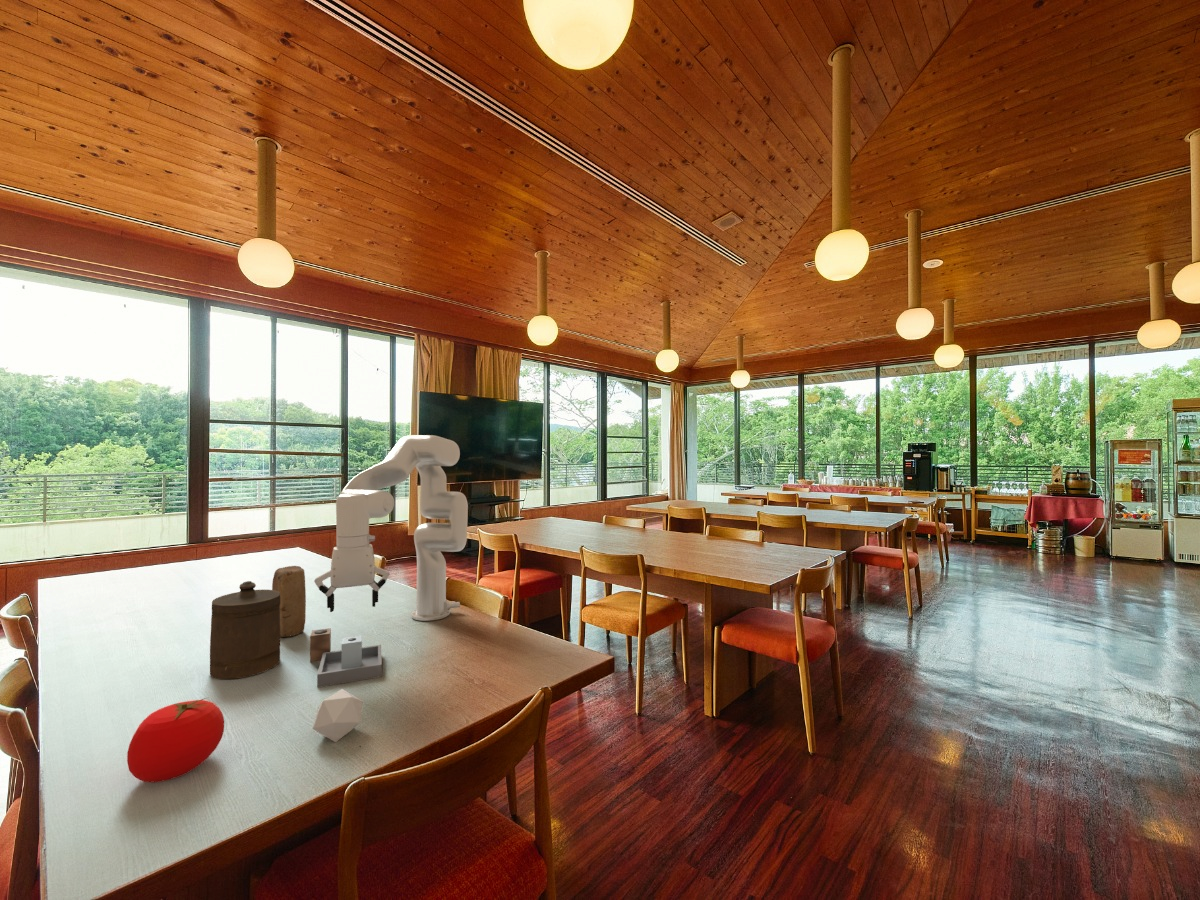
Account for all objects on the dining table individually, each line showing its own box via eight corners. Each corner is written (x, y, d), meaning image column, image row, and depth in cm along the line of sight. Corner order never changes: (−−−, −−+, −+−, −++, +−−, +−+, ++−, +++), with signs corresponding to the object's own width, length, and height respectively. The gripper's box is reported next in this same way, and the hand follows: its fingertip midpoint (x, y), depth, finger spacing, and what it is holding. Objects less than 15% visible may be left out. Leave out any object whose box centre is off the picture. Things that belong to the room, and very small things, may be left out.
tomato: (107, 785, 83) (108, 716, 83) (198, 740, 96) (199, 681, 96) (152, 804, 79) (153, 731, 79) (242, 755, 91) (242, 692, 91)
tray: (381, 655, 136) (381, 644, 136) (381, 676, 124) (381, 664, 124) (322, 664, 131) (323, 652, 131) (317, 687, 118) (317, 674, 118)
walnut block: (330, 653, 138) (330, 627, 138) (329, 659, 134) (329, 633, 134) (311, 656, 136) (312, 630, 136) (309, 662, 132) (310, 635, 132)
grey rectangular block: (361, 662, 130) (361, 635, 130) (361, 669, 126) (361, 640, 126) (342, 665, 128) (342, 637, 128) (341, 672, 124) (341, 643, 124)
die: (338, 722, 104) (308, 695, 100) (376, 700, 105) (347, 673, 100) (330, 757, 97) (297, 730, 92) (370, 734, 97) (339, 706, 93)
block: (307, 634, 152) (307, 568, 152) (278, 640, 146) (279, 572, 147) (296, 625, 159) (297, 563, 160) (269, 631, 154) (269, 566, 154)
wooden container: (273, 650, 139) (273, 572, 139) (286, 667, 129) (287, 582, 129) (205, 666, 129) (206, 581, 129) (214, 686, 118) (215, 593, 118)
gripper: (389, 536, 134) (389, 599, 135) (315, 541, 127) (316, 607, 128) (389, 541, 128) (390, 607, 128) (312, 547, 120) (313, 617, 121)
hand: (353, 607), depth 128 cm, fingers open, 9 cm apart
